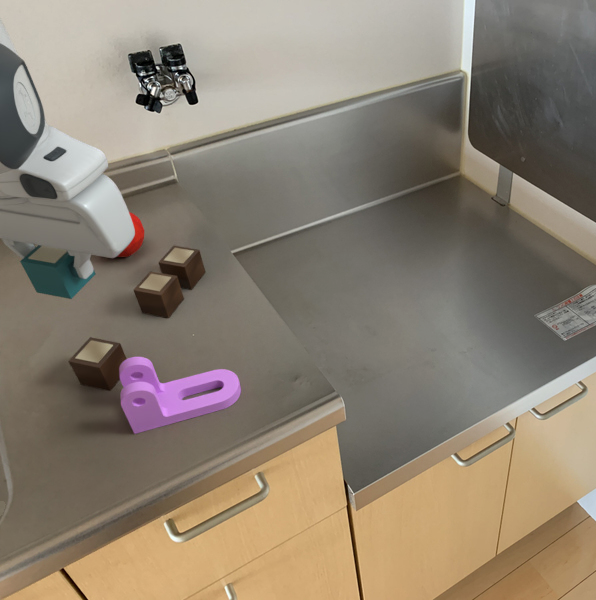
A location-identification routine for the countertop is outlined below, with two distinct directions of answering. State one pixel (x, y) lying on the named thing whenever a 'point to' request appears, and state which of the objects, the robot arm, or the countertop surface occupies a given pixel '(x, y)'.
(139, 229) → the apple
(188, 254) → the block
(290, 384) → the countertop surface
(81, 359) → the block
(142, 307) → the block
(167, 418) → the bracket
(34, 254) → the letter block
